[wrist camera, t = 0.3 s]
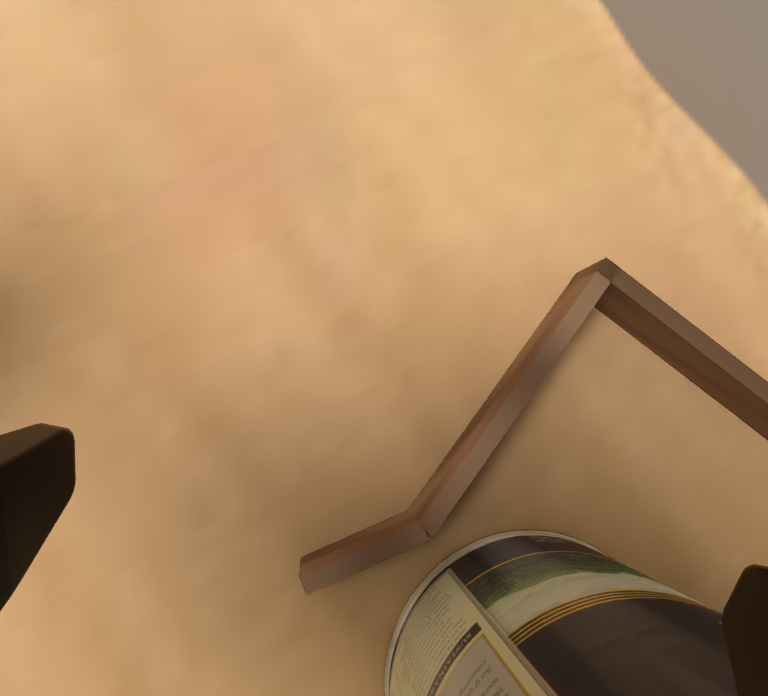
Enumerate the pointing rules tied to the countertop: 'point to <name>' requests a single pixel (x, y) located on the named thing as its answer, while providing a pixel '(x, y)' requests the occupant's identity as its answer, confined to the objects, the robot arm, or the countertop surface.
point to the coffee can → (552, 627)
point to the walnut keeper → (587, 289)
